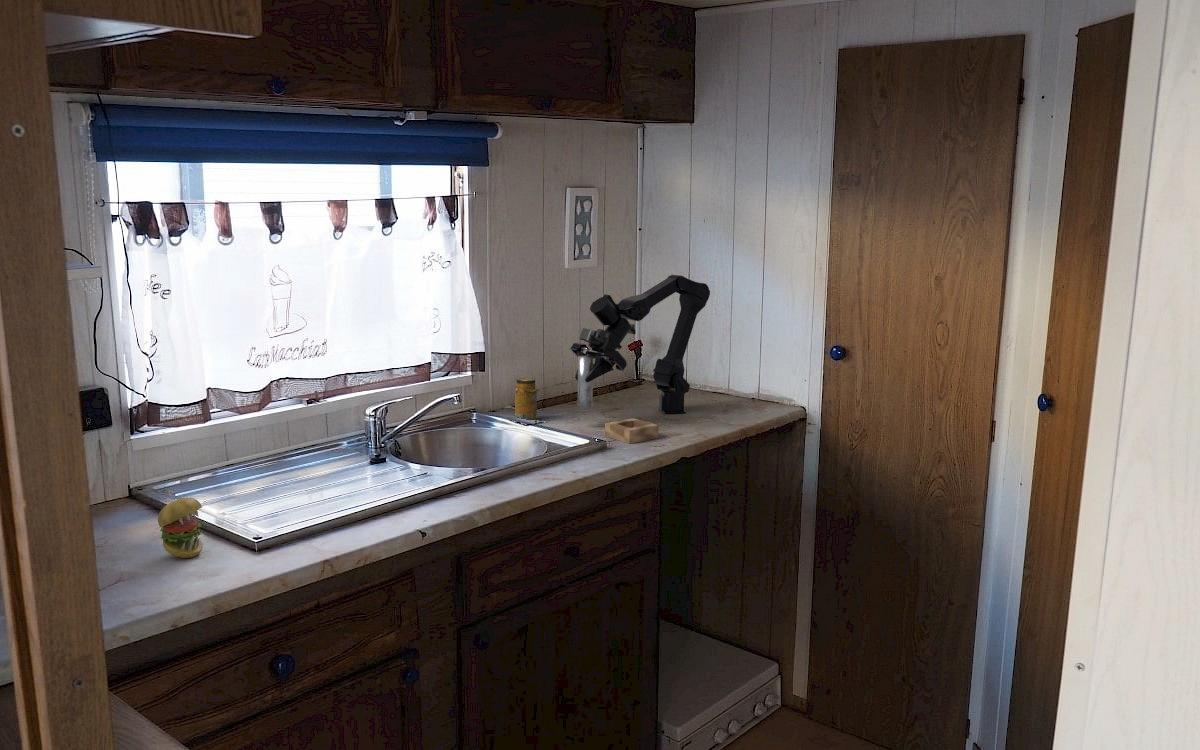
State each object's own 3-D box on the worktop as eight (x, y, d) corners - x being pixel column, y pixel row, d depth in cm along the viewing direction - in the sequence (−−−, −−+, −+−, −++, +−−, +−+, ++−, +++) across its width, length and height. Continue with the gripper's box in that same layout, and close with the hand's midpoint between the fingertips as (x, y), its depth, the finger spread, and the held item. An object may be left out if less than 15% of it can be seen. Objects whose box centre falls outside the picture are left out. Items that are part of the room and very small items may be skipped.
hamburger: (188, 564, 179) (184, 498, 176) (151, 561, 180) (146, 495, 178) (213, 549, 186) (209, 485, 184) (177, 546, 187) (172, 483, 185)
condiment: (529, 417, 293) (528, 376, 291) (546, 422, 286) (546, 380, 284) (507, 420, 288) (507, 378, 286) (525, 426, 282) (525, 383, 280)
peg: (590, 404, 282) (590, 354, 279) (593, 408, 278) (594, 357, 276) (576, 405, 281) (576, 355, 278) (579, 408, 277) (579, 357, 275)
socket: (633, 430, 278) (633, 418, 277) (658, 438, 270) (658, 425, 270) (604, 436, 272) (605, 423, 271) (629, 443, 264) (629, 430, 264)
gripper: (575, 313, 285) (543, 357, 280) (619, 321, 270) (586, 366, 266) (597, 339, 291) (566, 381, 286) (641, 347, 277) (609, 392, 272)
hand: (581, 380), depth 277 cm, fingers closed on peg, 4 cm apart
